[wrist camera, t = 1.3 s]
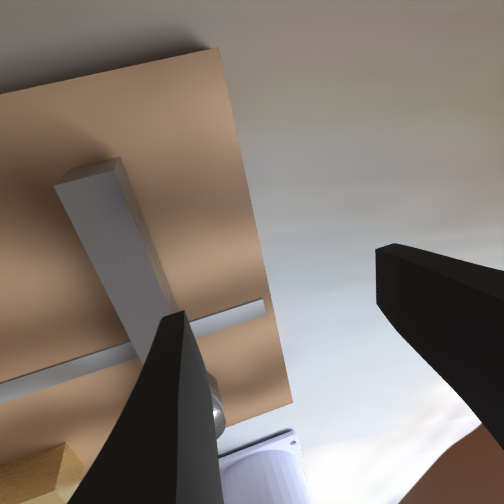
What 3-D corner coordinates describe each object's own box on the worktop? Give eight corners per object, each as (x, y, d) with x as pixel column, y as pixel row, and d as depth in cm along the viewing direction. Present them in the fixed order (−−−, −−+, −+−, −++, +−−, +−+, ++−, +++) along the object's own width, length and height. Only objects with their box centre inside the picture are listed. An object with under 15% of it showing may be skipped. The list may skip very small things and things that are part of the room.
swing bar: (223, 398, 21) (233, 442, 19) (173, 416, 21) (176, 463, 18) (134, 152, 14) (130, 168, 11) (54, 172, 13) (31, 194, 11)
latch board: (285, 386, 25) (293, 403, 24) (-58, 511, 22) (-72, 539, 21) (212, 50, 15) (219, 46, 13) (-467, 197, 12) (-550, 213, 10)
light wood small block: (83, 464, 21) (74, 512, 19) (17, 488, 21) (0, 541, 19) (66, 442, 20) (54, 490, 18) (-4, 466, 20) (-26, 520, 17)
